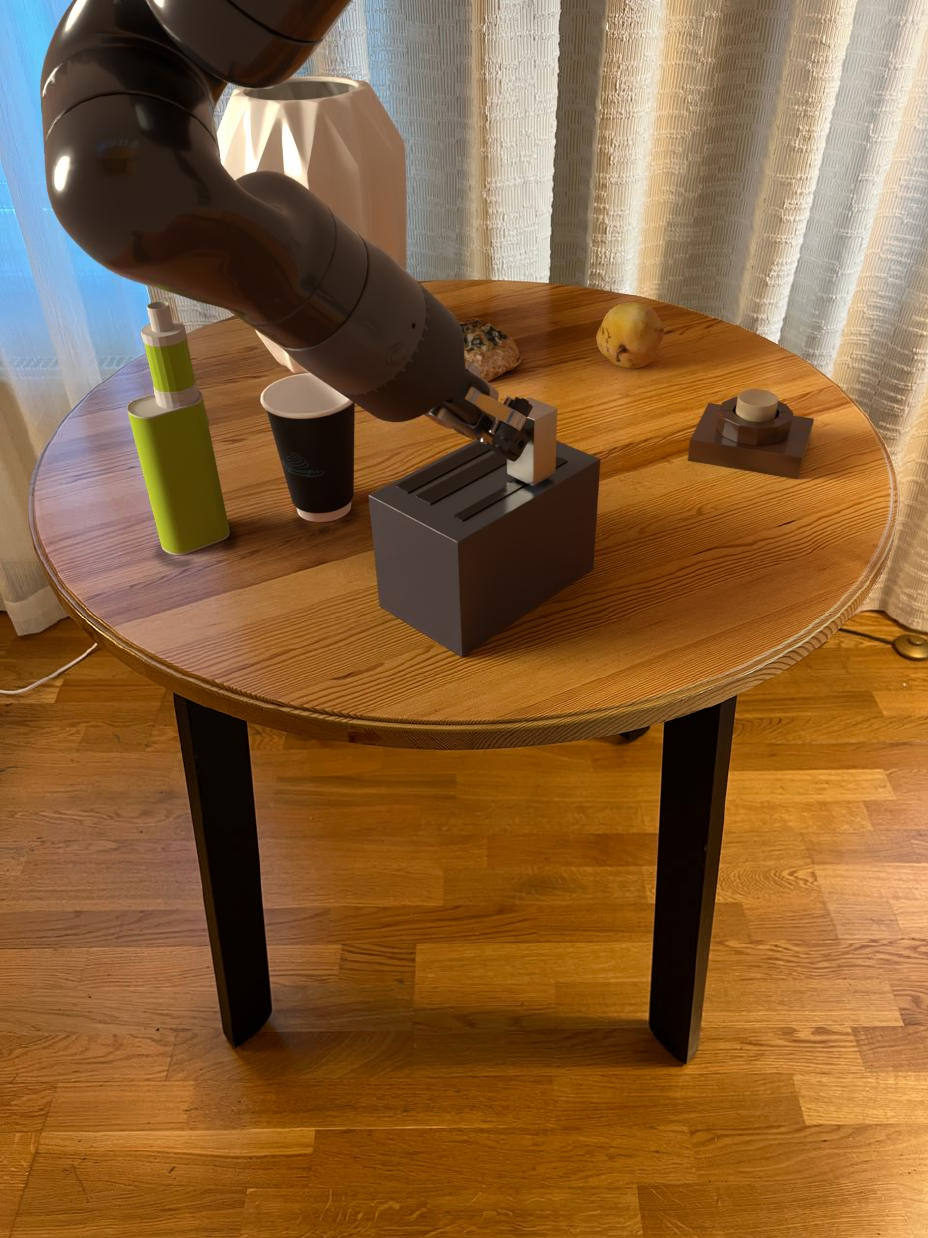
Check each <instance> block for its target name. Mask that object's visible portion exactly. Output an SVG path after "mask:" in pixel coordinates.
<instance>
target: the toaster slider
mask: <svg viewBox="0 0 928 1238" xmlns="http://www.w3.org/2000/svg"><path fill="white" fill-rule="evenodd" d="M525 399H526V400H528V401H529V404H531V405H532V406H533V408H532V410H531V412H530V414H529V416H528V418H527V419H526V421H525V423H524V425H523V427H522V428H523V429H524V430H525V431H526V432H527V433H528V434H529V441H528V443H527V445H526V447H525V449H524V451H523V452H522V454H521V456H520V458H518V459H517V460H516V461H514V462H513V461H511V460H509V459H507V474H508V475H510V476H512V477H514V478H517V479H519V480H521V481H523V482H525V483H527V484H530V485H532V486H535V485H537V484H538V483H540V482H542V481H544V480H545V479H547V478H549V477H551V476H552V475H554V474H555V469H556V441H557V438H558V437H557V436H558V435H557V432H558V407H556V406H554V405H551V404H548V403H545V402H543V401H540V400H538V399H536V398H533V397H531V396H529V397H527V398H525Z"/></svg>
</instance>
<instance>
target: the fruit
mask: <svg viewBox="0 0 928 1238" xmlns="http://www.w3.org/2000/svg"><path fill="white" fill-rule="evenodd" d="M664 338H665V327H664V324H663V321H662V320H661V318H660V317H659V316H658V314H657V312H656V311H655V309H654V308H653V307H651V306H650V305H648V304H645V303H641V302H632V301H628V302H622V303H619V304H617V305H615V306H613V307H612V308H610V309H609V310H608V312H607V313H606V314H605V316H604V318H603V320H602V322H601V324H600V325H599V328H598V330H597V332H596V337H595V339H596V344H597V347H598V350H599V352H600V353H601V354H602V355H604V357H606V358H607V359H608V360H609V361H610V362H611V363H612V364H614V365H615V366H618V367H622V368H626V369H639V368H643V367H645V366H647V365H649V364H650V363H652V362H653V361H654V360H655V359H656V357H657V354H658V351H659V349H660V346H661V344H662V342H663V341H664Z"/></svg>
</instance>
